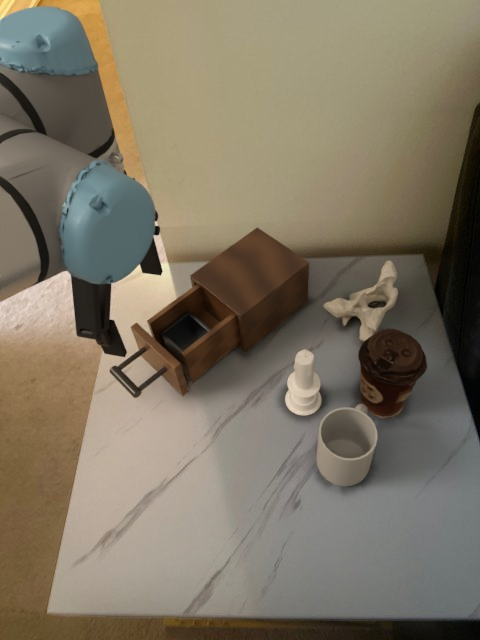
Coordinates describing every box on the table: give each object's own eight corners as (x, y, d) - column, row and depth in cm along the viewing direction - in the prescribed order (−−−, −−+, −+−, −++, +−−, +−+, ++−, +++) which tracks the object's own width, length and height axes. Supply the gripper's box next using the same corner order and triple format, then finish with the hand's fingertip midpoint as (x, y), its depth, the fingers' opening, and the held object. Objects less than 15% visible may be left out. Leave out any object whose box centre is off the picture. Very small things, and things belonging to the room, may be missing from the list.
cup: (307, 473, 76) (309, 444, 69) (336, 414, 81) (340, 382, 74) (357, 497, 74) (364, 470, 67) (384, 434, 79) (393, 403, 72)
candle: (284, 384, 85) (284, 338, 76) (320, 384, 85) (324, 337, 75) (285, 416, 82) (284, 372, 72) (322, 416, 81) (326, 371, 72)
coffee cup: (361, 431, 80) (372, 383, 69) (343, 382, 85) (350, 330, 74) (420, 417, 80) (439, 368, 70) (398, 369, 85) (413, 317, 75)
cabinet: (245, 353, 89) (240, 316, 81) (197, 313, 95) (189, 275, 87) (308, 301, 94) (309, 262, 87) (259, 266, 100) (257, 227, 92)
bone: (326, 329, 92) (320, 296, 86) (370, 273, 98) (367, 239, 92) (375, 350, 87) (372, 317, 81) (418, 290, 93) (418, 255, 87)
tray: (191, 372, 85) (188, 359, 82) (163, 346, 89) (158, 333, 86) (220, 348, 87) (218, 335, 85) (191, 324, 91) (188, 310, 88)
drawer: (150, 423, 82) (138, 396, 76) (109, 380, 87) (95, 352, 81) (248, 343, 89) (244, 313, 83) (205, 307, 94) (199, 276, 88)
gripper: (71, 274, 48) (127, 398, 65) (164, 111, 63) (190, 246, 80) (-6, 263, 50) (68, 386, 67) (102, 106, 64) (141, 240, 81)
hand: (135, 310), depth 73 cm, fingers open, 13 cm apart
